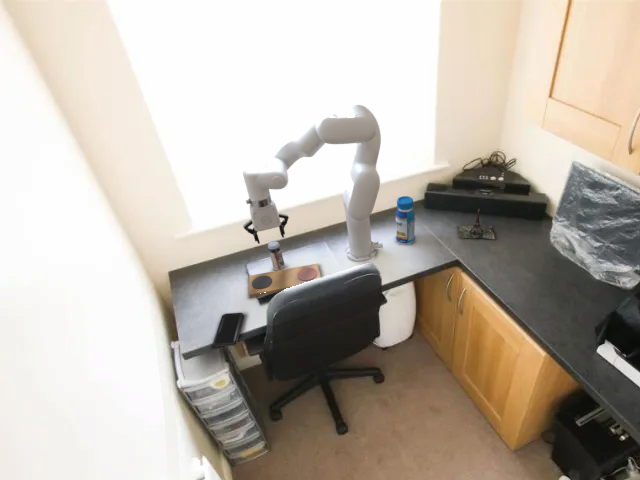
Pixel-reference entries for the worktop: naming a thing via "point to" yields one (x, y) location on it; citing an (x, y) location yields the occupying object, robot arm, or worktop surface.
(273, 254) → the beer can
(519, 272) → the worktop surface
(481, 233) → the eiffel tower figurine
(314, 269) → the board
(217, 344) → the phone
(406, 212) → the beverage bottle
